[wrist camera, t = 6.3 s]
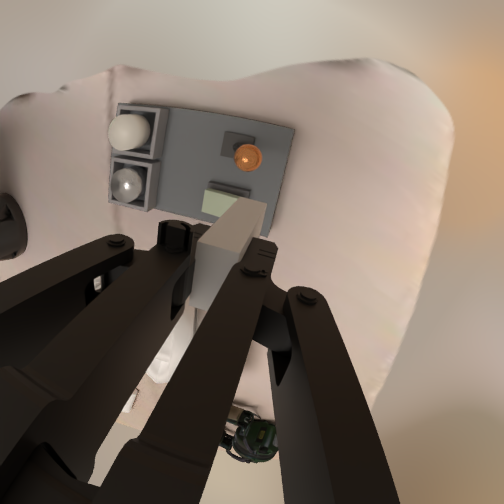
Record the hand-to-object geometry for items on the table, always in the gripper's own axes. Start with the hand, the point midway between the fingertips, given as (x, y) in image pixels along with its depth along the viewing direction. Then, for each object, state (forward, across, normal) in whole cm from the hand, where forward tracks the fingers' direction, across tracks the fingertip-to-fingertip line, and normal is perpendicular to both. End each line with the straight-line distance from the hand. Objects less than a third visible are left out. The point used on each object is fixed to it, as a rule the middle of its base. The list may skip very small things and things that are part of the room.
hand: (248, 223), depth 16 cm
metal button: (+19, +19, +5) cm, 27 cm away
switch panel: (+23, +12, +2) cm, 26 cm away
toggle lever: (+20, +6, -2) cm, 20 cm away
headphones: (+24, -5, +55) cm, 60 cm away
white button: (+18, +19, -2) cm, 26 cm away
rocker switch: (+19, +6, +5) cm, 21 cm away
